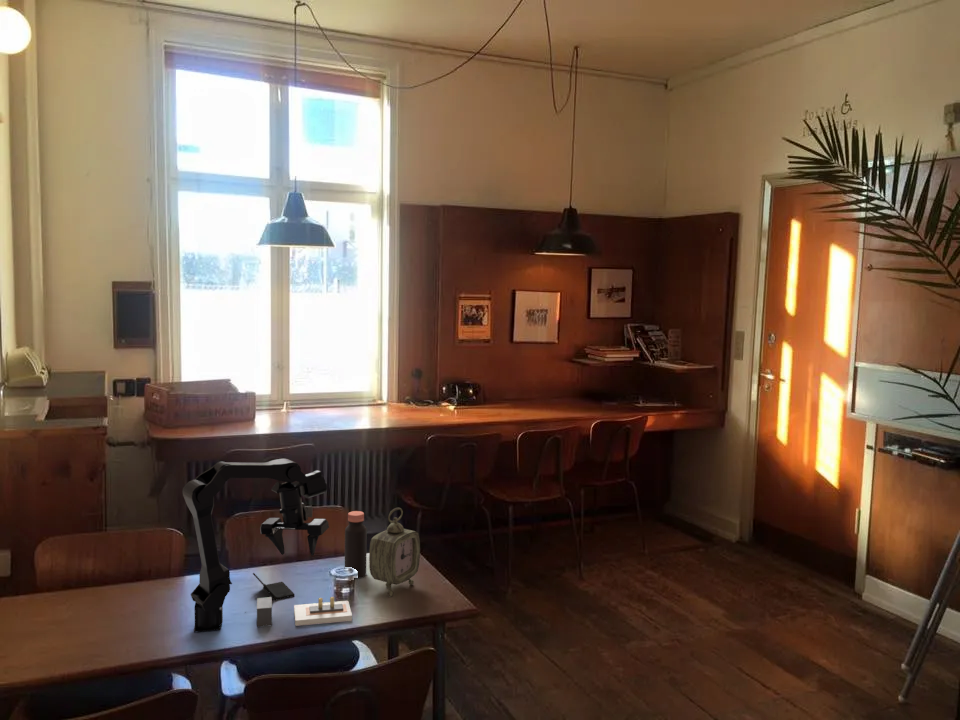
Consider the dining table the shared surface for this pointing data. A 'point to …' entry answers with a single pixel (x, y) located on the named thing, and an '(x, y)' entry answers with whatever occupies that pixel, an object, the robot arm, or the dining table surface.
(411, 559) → the tabletop clock
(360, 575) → the bottle
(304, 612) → the header board
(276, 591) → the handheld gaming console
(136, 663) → the dining table surface
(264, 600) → the connector housing
